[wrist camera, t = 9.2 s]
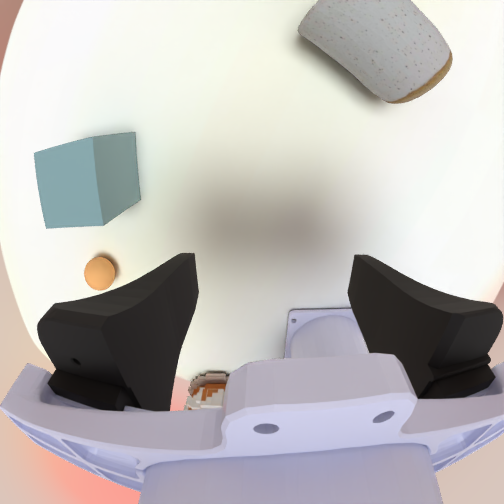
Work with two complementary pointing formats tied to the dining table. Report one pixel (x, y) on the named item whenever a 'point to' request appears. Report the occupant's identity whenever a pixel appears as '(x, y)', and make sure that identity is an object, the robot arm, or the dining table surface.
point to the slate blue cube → (87, 180)
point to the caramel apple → (207, 392)
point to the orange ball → (99, 273)
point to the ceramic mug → (381, 45)
